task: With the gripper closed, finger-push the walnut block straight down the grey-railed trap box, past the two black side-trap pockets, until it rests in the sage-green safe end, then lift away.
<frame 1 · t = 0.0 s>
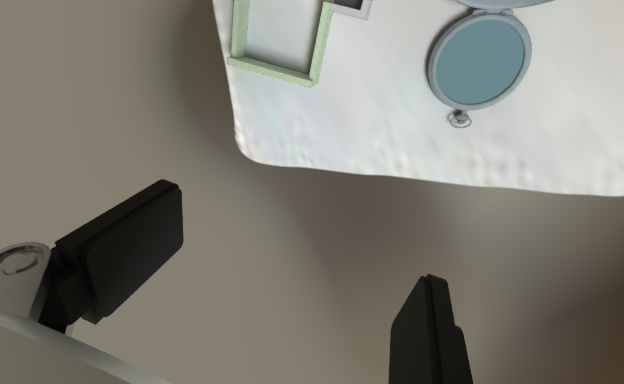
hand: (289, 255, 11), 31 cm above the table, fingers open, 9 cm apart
pocket watch: (475, 60, 32), on the table
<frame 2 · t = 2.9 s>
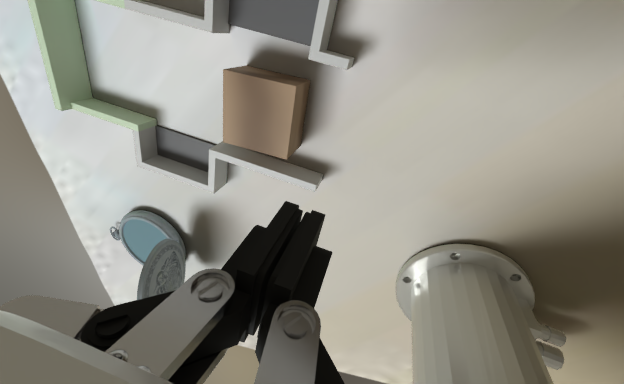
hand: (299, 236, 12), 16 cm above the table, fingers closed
walnut block: (275, 106, 26), on the table
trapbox: (197, 83, 27), on the table
pocket watch: (160, 237, 40), on the table
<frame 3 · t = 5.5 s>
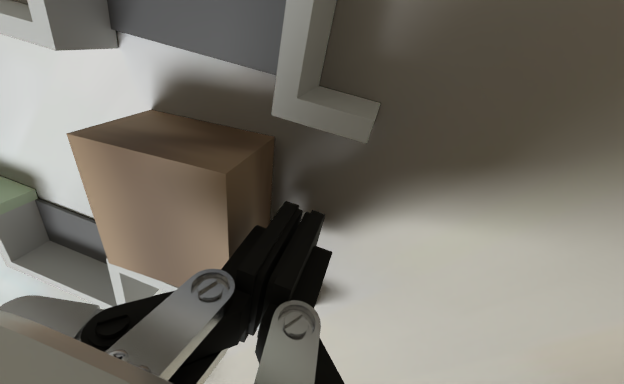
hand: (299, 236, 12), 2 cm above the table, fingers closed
walnut block: (216, 181, 14), on the table, touching gripper
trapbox: (83, 139, 15), on the table
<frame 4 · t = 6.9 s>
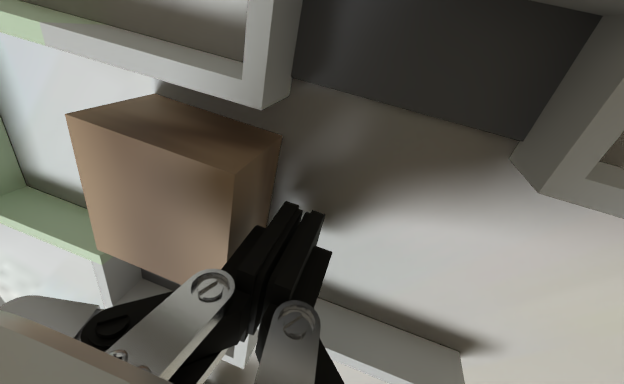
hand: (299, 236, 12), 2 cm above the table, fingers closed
walnut block: (215, 174, 14), on the table, touching gripper
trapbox: (214, 183, 14), on the table
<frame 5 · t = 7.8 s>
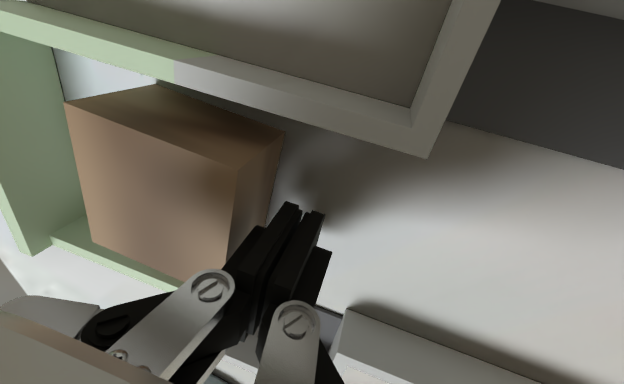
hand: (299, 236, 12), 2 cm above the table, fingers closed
walnut block: (214, 168, 13), on the table, touching gripper
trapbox: (312, 217, 13), on the table
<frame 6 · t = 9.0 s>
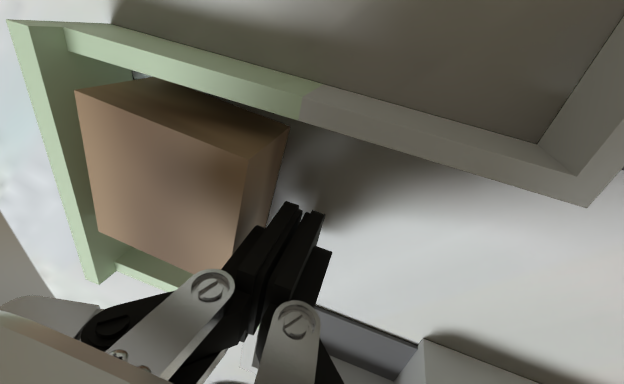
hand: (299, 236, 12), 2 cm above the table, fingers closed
walnut block: (220, 160, 14), on the table, touching gripper
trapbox: (401, 248, 12), on the table
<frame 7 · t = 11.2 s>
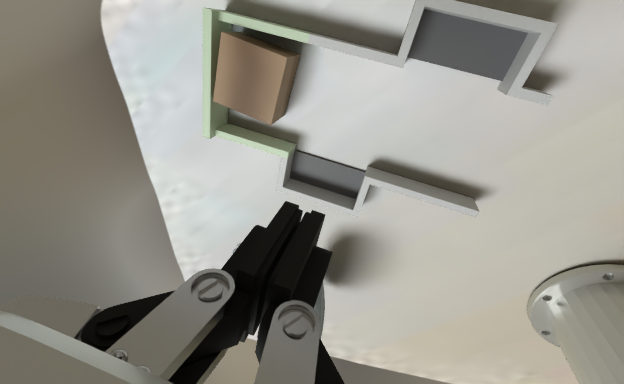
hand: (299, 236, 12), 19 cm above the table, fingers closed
walnut block: (265, 75, 28), on the table
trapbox: (353, 111, 28), on the table
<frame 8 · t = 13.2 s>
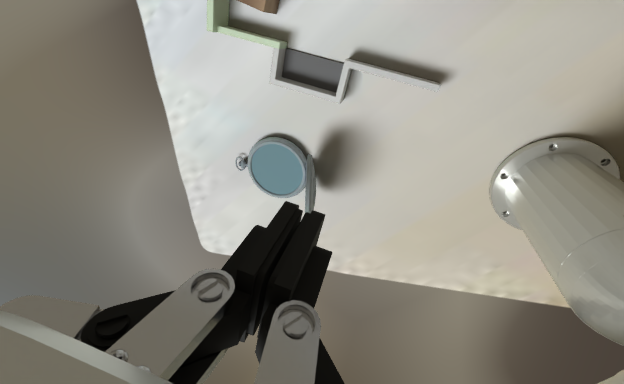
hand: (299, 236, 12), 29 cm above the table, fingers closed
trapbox: (335, 4, 32), on the table
pocket watch: (282, 166, 45), on the table
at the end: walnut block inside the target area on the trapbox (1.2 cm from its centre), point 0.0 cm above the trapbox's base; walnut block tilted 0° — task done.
